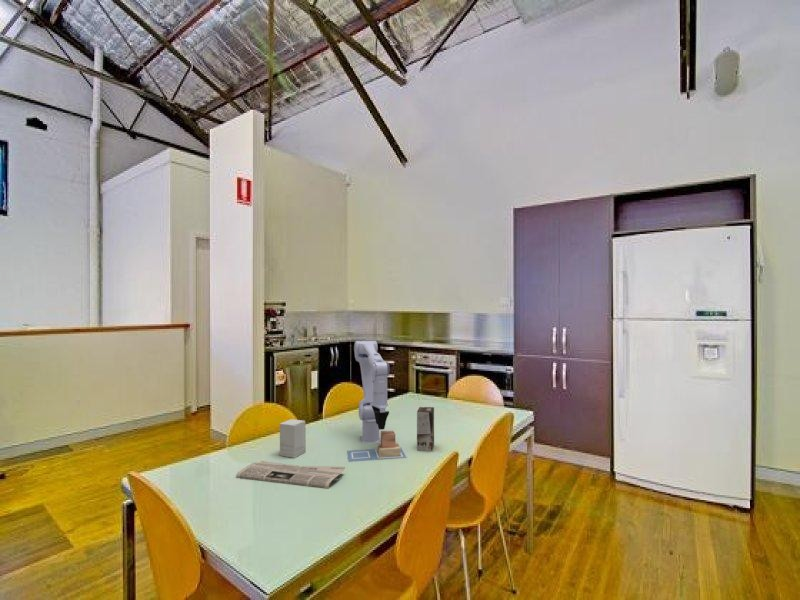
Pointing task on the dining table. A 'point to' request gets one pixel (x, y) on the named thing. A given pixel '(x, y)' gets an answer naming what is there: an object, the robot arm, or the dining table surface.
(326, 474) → the newspaper
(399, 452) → the base block
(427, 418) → the coffee box
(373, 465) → the dining table surface
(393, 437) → the top block
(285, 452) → the supplement box
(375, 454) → the blueprint board
